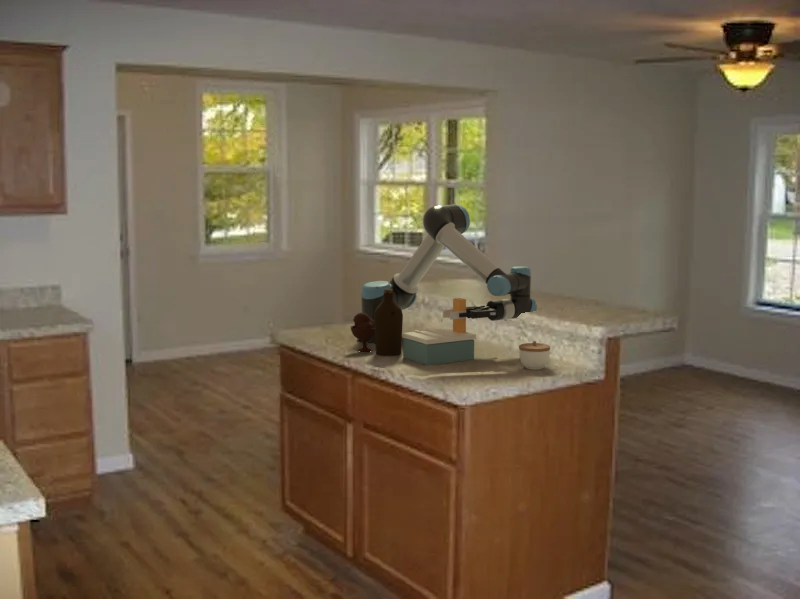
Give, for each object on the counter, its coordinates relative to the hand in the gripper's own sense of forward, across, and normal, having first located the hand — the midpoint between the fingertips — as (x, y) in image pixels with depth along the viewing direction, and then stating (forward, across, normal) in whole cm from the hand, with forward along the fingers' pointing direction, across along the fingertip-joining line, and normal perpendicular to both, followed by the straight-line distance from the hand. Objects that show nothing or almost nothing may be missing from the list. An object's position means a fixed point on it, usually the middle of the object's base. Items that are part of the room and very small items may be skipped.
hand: (447, 314), depth 323 cm
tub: (+4, 0, -16) cm, 17 cm away
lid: (+3, 0, -8) cm, 9 cm away
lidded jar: (-18, -27, -17) cm, 37 cm away
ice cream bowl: (+18, +30, -17) cm, 39 cm away
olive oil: (+15, +17, -17) cm, 28 cm away
